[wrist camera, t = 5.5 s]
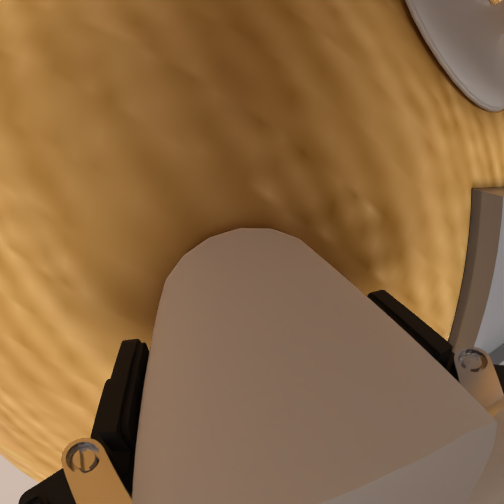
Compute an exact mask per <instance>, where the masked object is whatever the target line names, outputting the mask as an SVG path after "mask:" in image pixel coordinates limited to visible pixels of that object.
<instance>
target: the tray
mask: <svg viewBox="0 0 504 504" xmlns="http://www.w3.org/2000/svg"><path fill="white" fill-rule="evenodd" d="M448 343H450V344H451V345H452V346H453V348H452V352H453V353H454V354H455V353H456V352H457V351H458V350H459V349H461V348H463V347H467V346H472V347H477V348H480V349H482V350H484V351H485V352H486V353H487V354H488V355H489V356H490V358H491V360H492V363H493V364H496V365H504V187H492V188H476V189H472V203H471V220H470V231H469V241H468V249H467V257H466V264H465V270H464V276H463V282H462V287H461V292H460V297H459V302H458V306H457V310H456V315H455V319H454V323H453V327H452V330H451V334H450V337H449V341H448Z"/></svg>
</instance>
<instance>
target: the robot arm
mask: <svg viewBox="0 0 504 504" xmlns="http://www.w3.org/2000/svg"><path fill="white" fill-rule="evenodd" d="M367 297H368V298H369V299H370V300H371V301H373V302H374V303H375V304H376V305H377V306H378V307H379V308H380V309H382V310H383V311H384V312H385V313H386V314H387V315H388V316H389V317H390V318H391V319H393V320H394V321H395V322H396V323H397V324H398V325H399V326H400V327H401V328H402V329H403V330H405V331H406V332H407V333H408V334H409V335H410V336H411V337H412V338H413V339H414V340H415V341H416V342H417V343H419V344H420V345H421V346H422V347H423V348H424V349H425V350H426V351H427V352H428V353H429V354H430V355H431V356H432V357H433V358H434V359H435V360H436V361H437V362H438V363H440V364H441V365H442V366H443V367H444V368H445V369H446V370H447V371H448V372H449V373H450V374H451V375H452V376H453V377H454V378H455V379H456V380H457V381H458V382H459V383H460V384H461V385H462V386H463V387H464V388H465V389H466V390H467V391H468V392H469V393H470V394H471V395H472V396H473V397H474V398H475V399H476V400H477V401H478V402H479V403H480V404H481V405H482V406H483V407H484V408H485V409H486V411H487V412H488V413H489V414H490V415H491V416H492V417H493V418H494V419H495V420H496V421H497V422H498V423H497V431H496V437H495V443H494V447H493V450H492V452H491V454H490V457H489V459H488V461H487V463H486V466H485V468H484V470H483V472H482V474H481V476H480V478H479V480H478V482H477V484H476V486H475V488H474V490H473V492H472V494H471V496H470V498H469V499H468V501H467V503H466V504H504V365H496V364H493V363H492V360H491V358H490V356H489V355H488V354H487V353H486V352H485V351H484V350H482V349H480V348H477V347H472V346H467V347H463V348H461V349H459V350H458V351H457V352H456V353H455V354H454V353H453V352H452V348H453V346H452V345H451V344H450V343H448V342H447V341H446V340H445V339H444V338H443V337H441V336H440V335H439V334H438V333H437V332H435V331H434V330H433V329H432V328H431V327H429V326H428V325H427V324H426V323H425V322H423V321H422V320H421V319H420V318H418V317H417V316H416V315H415V314H414V313H412V312H411V311H410V310H409V309H407V308H406V307H405V306H404V305H402V304H401V303H400V302H399V301H397V300H396V299H395V298H394V297H392V296H391V295H390V294H389V293H387V292H386V291H385V290H379V291H375V292H372V293H369V294H368V296H367ZM148 357H149V350H148V347H147V345H146V343H145V342H143V343H141V341H140V340H139V339H133V340H125V341H122V343H121V346H120V349H119V353H118V356H117V359H116V362H115V365H114V369H113V372H112V375H111V379H108V380H107V381H106V383H105V386H104V389H103V392H102V396H101V399H100V403H99V406H98V410H97V414H96V418H95V421H94V425H93V429H92V433H91V438H81V439H77V440H75V441H73V442H71V443H70V444H69V445H68V446H67V447H66V448H65V450H64V451H63V453H62V458H61V461H62V466H63V468H62V469H61V470H59V471H58V472H56V473H55V474H53V475H51V476H50V477H48V478H47V479H45V480H44V481H42V482H40V483H39V484H37V485H36V486H34V487H32V488H31V489H29V490H28V491H26V492H25V493H24V494H23V495H22V496H21V498H20V500H19V504H132V491H133V475H134V462H135V451H136V441H137V432H138V424H139V416H140V408H141V401H142V394H143V387H144V381H145V375H146V368H147V363H148Z"/></svg>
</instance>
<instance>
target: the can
mask: <svg viewBox="0 0 504 504" xmlns="http://www.w3.org/2000/svg"><path fill="white" fill-rule="evenodd" d="M497 423H498V422H497V421H496V420H495V419H494V418H493V417H492V416H491V415H490V414H489V413H488V412H487V411H486V409H485V408H484V407H483V406H482V405H481V404H480V403H479V402H478V401H477V400H476V399H475V398H474V397H473V396H472V395H471V394H470V393H469V392H468V391H467V390H466V389H465V388H464V387H463V386H462V385H461V384H460V383H459V382H458V381H457V380H456V379H455V378H454V377H453V376H452V375H451V374H450V373H449V372H448V371H447V370H446V369H445V368H444V367H443V366H442V365H441V364H440V363H438V362H437V361H436V360H435V359H434V358H433V357H432V356H431V355H430V354H429V353H428V352H427V351H426V350H425V349H424V348H423V347H422V346H421V345H420V344H419V343H417V342H416V341H415V340H414V339H413V338H412V337H411V336H410V335H409V334H408V333H407V332H406V331H405V330H403V329H402V328H401V327H400V326H399V325H398V324H397V323H396V322H395V321H394V320H393V319H391V318H390V317H389V316H388V315H387V314H386V313H385V312H384V311H383V310H382V309H380V308H379V307H378V306H377V305H376V304H375V303H374V302H373V301H371V300H370V299H369V298H368V297H367V296H366V295H365V294H364V293H362V292H361V291H360V290H359V289H358V288H357V287H356V286H354V285H353V284H352V283H351V282H350V281H349V280H348V279H346V278H345V277H344V276H343V275H342V274H341V273H340V272H338V271H337V270H336V269H335V268H334V267H333V266H331V265H330V264H329V263H328V262H327V261H326V260H324V259H323V258H322V257H321V256H320V255H318V254H317V253H316V252H315V251H314V250H312V249H311V248H310V247H309V246H308V245H306V244H305V243H304V242H303V241H302V240H300V239H299V238H297V237H294V236H291V235H289V234H286V233H283V232H280V231H277V230H274V229H272V228H238V229H235V230H232V231H228V232H225V233H222V234H219V235H215V236H212V237H209V238H208V239H206V240H205V241H203V242H202V243H200V244H199V245H197V246H196V247H195V248H193V249H192V250H190V251H189V252H188V253H186V254H185V255H183V256H182V258H181V259H180V261H179V262H178V263H177V265H176V266H175V267H174V269H173V270H172V272H171V273H170V274H169V276H168V277H167V279H166V281H165V284H164V288H163V291H162V295H161V298H160V302H159V306H158V311H157V315H156V320H155V325H154V330H153V335H152V340H151V346H150V351H149V357H148V363H147V368H146V375H145V381H144V387H143V394H142V401H141V408H140V416H139V424H138V432H137V441H136V451H135V462H134V475H133V491H132V504H466V503H467V501H468V499H469V498H470V496H471V494H472V492H473V490H474V488H475V486H476V484H477V482H478V480H479V478H480V476H481V474H482V472H483V470H484V468H485V466H486V463H487V461H488V459H489V457H490V454H491V452H492V450H493V447H494V443H495V437H496V431H497Z"/></svg>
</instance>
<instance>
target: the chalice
mask: <svg viewBox="0 0 504 504" xmlns="http://www.w3.org/2000/svg"><path fill="white" fill-rule="evenodd" d="M405 1H406V4H407V6H408V8H409V11H410V13H411V16H412V18H413V20H414V22H415V23H416V25H417V27H418V29H419V31H420V33H421V35H422V36H423V38H424V40H425V42H426V43H427V45H428V46H429V48H430V50H431V51H432V53H433V54H434V56H435V58H436V59H437V61H438V62H439V64H440V65H441V66H442V68H443V69H444V70H445V72H446V73H447V74H448V76H449V77H450V79H451V80H452V81H453V82H454V83H455V85H456V86H457V87H458V88H459V89H460V90H461V91H462V92H463V93H464V95H465V96H466V97H467V98H469V99H470V100H471V101H472V102H474V103H475V104H476V105H477V106H478V107H480V108H482V109H485V110H487V111H489V112H500V111H502V110H504V0H502V1H501V2H500V3H498V4H497V5H491V3H490V2H489V1H488V0H405Z"/></svg>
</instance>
